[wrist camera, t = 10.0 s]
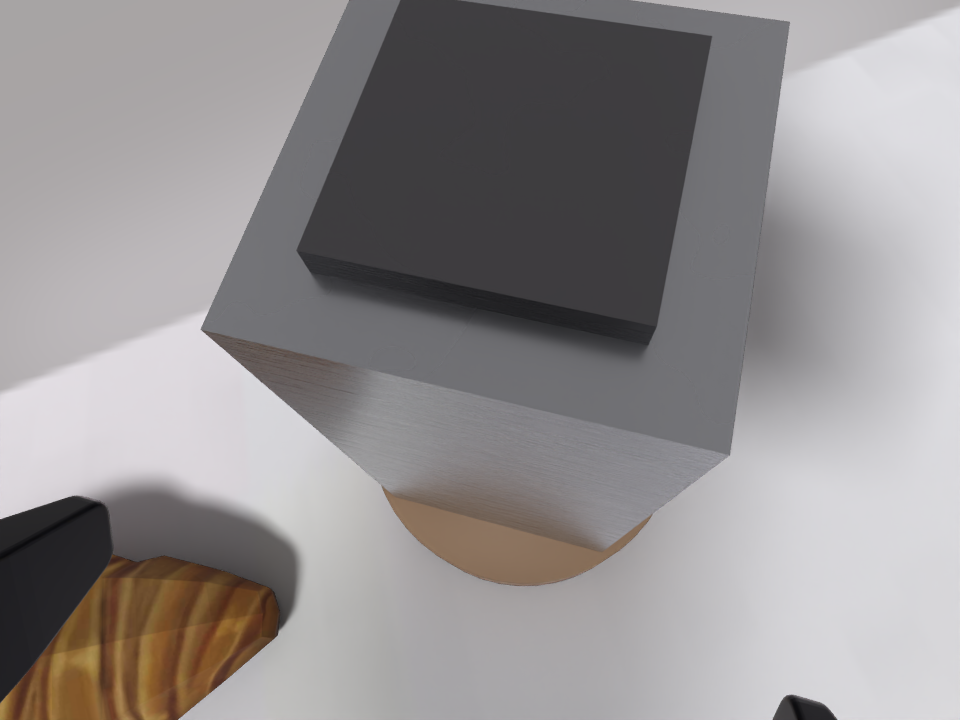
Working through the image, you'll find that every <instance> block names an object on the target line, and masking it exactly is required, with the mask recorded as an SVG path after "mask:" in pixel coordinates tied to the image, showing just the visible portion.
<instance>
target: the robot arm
mask: <svg viewBox="0 0 960 720" xmlns="http://www.w3.org/2000/svg"><path fill="white" fill-rule="evenodd" d="M112 554H113V541H112V533H111V526H110V518H109V511H108V508H107V506H106V505H105V504H104V503H103V502H101V501H97V500H94V499H90V498H87V497H83V496H71V497H68V498H65V499H62V500H59V501H55V502H52V503H49V504H46V505H43V506H40V507H37V508H34V509H31V510H28V511H25V512H21V513H18V514H15V515H12V516H9V517H6V518H3V519H0V703H1V702H2V701H3V700H4V699H5V697H6V696H7V695H8V694H9V693H10V692H11V691H12V690H13V688H14V687H15V686H16V685H17V684H18V683H19V682H20V680H21V679H22V678H23V677H24V676H25V675H26V673H27V672H28V671H29V670H30V669H31V667H32V666H33V665H34V664H35V662H36V661H37V660H38V659H39V657H40V656H41V655H42V653H43V652H44V651H45V650H46V648H47V647H48V646H49V644H50V643H51V642H52V640H53V639H54V638H55V636H56V635H57V634H58V632H59V631H60V630H61V628H62V627H63V625H64V624H65V623H66V621H67V620H68V619H69V617H70V616H71V615H72V613H73V612H74V611H75V609H76V608H77V607H78V605H79V604H80V603H81V601H82V600H83V599H84V597H85V596H86V594H87V593H88V592H89V590H90V589H91V588H92V586H93V585H94V584H95V582H96V581H97V580H98V578H99V577H100V576H101V574H102V573H103V572H104V570H105V569H106V567H107V566H108V564H109V562H110V560H111V557H112ZM773 720H837V718H836V717H835V716H834V714H833V713H832V712H831V711H830V710H829V708H827V707H826V706H825V705H824V704H822V703H820V702H817V701H814V700H810V699H807V698H803V697H799V696H796V695H787V696H785V697H784V698H783V700H782V701H781V703H780V705H779V707H778V709H777V711H776V713H775V715H774V717H773Z"/></svg>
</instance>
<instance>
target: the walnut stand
mask: <svg viewBox="0 0 960 720" xmlns="http://www.w3.org/2000/svg"><path fill="white" fill-rule="evenodd" d="M381 486H382V485H381ZM382 488H383V491H384V493H385V495H386V497H387V499H388V501H389V503H390V505H391V506H392V508H393V510H394V512H395V513H396V515H397V516H398V517H399V519H400V520H401V521H402V523H403V524H404V525H405V527H406V528H407V529H408V530H409V531H410V532H411V533H412V534H413V535H414V536H415V537H416V538H417V539H418V540H419V541H420V543H422V544H423V545H424V546H426V547H427V548H428V549H429V550H431V551H432V552H433V553H434V554H436V555H437V556H439V557H440V558H442V559H444V560H445V561H447V562H448V563H450V564H452V565H454V566H455V567H457V568H459V569H460V570H462V571H464V572H466V573H468V574H471V575H473V576H476V577H478V578H481V579H483V580H487V581H491V582H495V583H499V584H506V585H514V586H538V585H544V584H550V583H556V582H559V581H563V580H566V579H569V578H572V577H575V576H577V575H579V574H581V573H583V572H586V571H588V570H590V569H592V568H593V567H595V566H596V565H598V564H600V563H601V562H603V561H604V560H606V559H607V558H609V557H610V556H612V555H613V554H615V553H616V552H618V551H619V550H620V549H621V548H623V547H624V546H625V545H626V544H627V543H628V542H629V541H631V540H632V539H633V538H634V537H635V536H636V535H637V534H638V532H639V531H640V530H641V529H642V528H643V527H644V525H645V524H646V523H647V522H648V521H649V519H650V517H651V516H652V515H650V516H649V517H648V518H646V519H645V520H644V521H642V522H641V523H640V524H638V525H637V526H636V527H634V528H633V529H632V530H630V531H629V532H628V533H627V534H625V535H624V536H623V537H621V538H620V539H619V540H617V541H616V542H615V543H613V544H612V545H611V546H609V547H608V548H607V549H605V550H604V551H603V552H599V551H595V550H591V549H587V548H584V547H580V546H576V545H572V544H569V543H565V542H561V541H558V540H554V539H550V538H546V537H543V536H539V535H535V534H531V533H528V532H524V531H520V530H516V529H513V528H509V527H505V526H502V525H498V524H494V523H490V522H487V521H483V520H479V519H475V518H472V517H468V516H464V515H460V514H457V513H453V512H449V511H446V510H442V509H438V508H434V507H431V506H427V505H423V504H419V503H416V502H412V501H408V500H404V499H401V498H397V497H395V496H393V495H392V494H391V493H390V492H389V491H388V490H386V489H385V488H384V487H383V486H382Z"/></svg>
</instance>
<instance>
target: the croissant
mask: <svg viewBox="0 0 960 720" xmlns="http://www.w3.org/2000/svg"><path fill="white" fill-rule="evenodd" d="M279 620H280V610H279V607H278V604H277V600H276V597H275V594H274V592H273V591H272V590H271V589H270V588H268V587H266V586H263V585H260V584H258V583H255V582H252V581H249V580H247V579H244V578H241V577H239V576H236V575H233V574H231V573H228V572H225V571H222V570H218V569H214V568H210V567H206V566H202V565H199V564H195V563H191V562H187V561H183V560H179V559H176V558H172V557H168V556H160V557H156V558H152V559H148V560H144V561H140V562H134V561H131V560H128V559H125V558H122V557H119V556H115V555H112V557H111V560H110V562H109V564H108V566H107V567H106V569H105V570H104V572H103V573H102V574H101V576H100V577H99V578H98V580H97V581H96V582H95V584H94V585H93V586H92V588H91V589H90V590H89V592H88V593H87V594H86V596H85V597H84V599H83V600H82V601H81V603H80V604H79V605H78V607H77V608H76V609H75V611H74V612H73V613H72V615H71V616H70V617H69V619H68V620H67V621H66V623H65V624H64V625H63V627H62V628H61V630H60V631H59V632H58V634H57V635H56V636H55V638H54V639H53V640H52V642H51V643H50V644H49V646H48V647H47V648H46V650H45V651H44V652H43V653H42V655H41V656H40V657H39V659H38V660H37V661H36V662H35V664H34V665H33V666H32V667H31V669H30V670H29V671H28V672H27V673H26V675H25V676H24V677H23V678H22V679H21V680H20V682H19V683H18V684H17V685H16V686H15V687H14V688H13V690H12V691H11V692H10V693H9V694H8V695H7V696H6V697H5V699H4V700H3V701H2V702H1V703H0V720H178V719H179V718H180V717H182V716H183V715H184V714H185V713H186V712H188V711H189V710H190V709H191V708H192V707H194V706H195V705H196V704H197V703H198V702H200V701H201V700H202V699H203V698H205V697H206V696H207V695H208V694H209V693H211V692H212V691H213V690H214V689H215V688H217V687H218V686H219V685H220V684H222V683H223V682H224V681H225V680H226V679H228V678H229V677H230V676H231V675H232V674H234V673H235V672H236V671H237V670H238V669H239V668H240V667H242V666H243V665H244V664H245V663H246V662H247V661H249V660H250V659H251V658H252V657H253V656H254V655H256V654H257V653H258V652H259V651H260V650H261V649H263V648H264V647H265V646H266V645H267V644H268V643H270V642H271V641H272V640H273V639H274V638H275V637H276V636H278V629H279Z"/></svg>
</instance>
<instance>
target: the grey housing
mask: <svg viewBox="0 0 960 720" xmlns="http://www.w3.org/2000/svg"><path fill="white" fill-rule="evenodd" d="M789 24H790V22H787V21H779V20H771V19H764V18H757V17H750V16H742V15H735V14H728V13H720V12H712V11H705V10H698V9H690V8H683V7H676V6H668V5H661V4H654V3H646V2H638V1H631V0H349V2H348V4H347V7H346V9H345V11H344V13H343V15H342V18H341V20H340V22H339V24H338V26H337V29H336V31H335V33H334V35H333V38H332V40H331V42H330V44H329V46H328V49H327V51H326V53H325V55H324V57H323V60H322V62H321V64H320V66H319V69H318V71H317V73H316V75H315V78H314V80H313V82H312V84H311V86H310V88H309V91H308V93H307V95H306V97H305V99H304V102H303V104H302V106H301V108H300V111H299V113H298V115H297V117H296V119H295V122H294V124H293V126H292V128H291V130H290V133H289V135H288V137H287V139H286V142H285V144H284V146H283V148H282V151H281V153H280V155H279V157H278V159H277V161H276V164H275V166H274V168H273V170H272V172H271V175H270V177H269V179H268V181H267V184H266V186H265V188H264V190H263V193H262V195H261V197H260V199H259V201H258V203H257V206H256V208H255V210H254V212H253V215H252V217H251V219H250V221H249V223H248V226H247V228H246V230H245V232H244V235H243V237H242V239H241V241H240V243H239V246H238V248H237V250H236V252H235V254H234V257H233V259H232V261H231V263H230V266H229V268H228V270H227V272H226V274H225V277H224V279H223V281H222V283H221V286H220V288H219V290H218V292H217V294H216V296H215V299H214V301H213V303H212V305H211V307H210V310H209V312H208V314H207V316H206V319H205V321H204V323H203V325H202V327H201V330H202V331H203V332H204V333H205V334H206V335H208V336H209V337H210V338H211V339H212V340H213V341H215V342H216V343H217V344H218V345H219V346H220V347H222V348H223V349H224V350H225V351H226V352H227V353H228V354H230V355H231V356H232V357H233V358H234V359H235V360H237V361H238V362H239V363H240V364H241V365H242V366H244V367H245V368H246V369H247V370H248V371H249V372H251V373H252V374H253V375H254V376H255V377H256V378H258V379H259V380H260V381H261V382H262V383H263V384H264V385H266V386H267V387H268V388H269V389H270V390H271V391H273V392H274V393H275V394H276V395H277V396H278V397H280V398H281V399H282V400H283V401H284V402H285V403H287V404H288V405H289V406H290V407H291V408H292V409H294V410H295V411H296V412H297V413H298V414H299V415H301V416H302V417H303V418H304V419H305V420H306V421H307V422H309V423H310V424H311V425H312V426H313V427H314V428H316V429H317V430H318V431H319V432H320V433H321V434H323V435H324V436H325V437H326V438H327V439H328V440H330V441H331V442H332V443H333V444H334V445H335V446H337V447H338V448H339V449H340V450H341V451H342V452H343V453H345V454H346V455H347V456H348V457H349V458H350V459H352V460H353V461H354V462H355V463H356V464H357V465H359V466H360V467H361V468H362V469H363V470H364V471H366V472H367V473H368V474H369V475H370V476H371V477H373V478H374V479H375V480H376V481H377V482H378V483H380V484H381V485H382V486H383V487H384V488H385V489H386V490H388V491H389V492H390V493H391V494H392V495H393V496H395V497H397V498H401V499H404V500H408V501H412V502H416V503H419V504H423V505H427V506H431V507H434V508H438V509H442V510H446V511H449V512H453V513H457V514H460V515H464V516H468V517H472V518H475V519H479V520H483V521H487V522H490V523H494V524H498V525H502V526H505V527H509V528H513V529H516V530H520V531H524V532H528V533H531V534H535V535H539V536H543V537H546V538H550V539H554V540H558V541H561V542H565V543H569V544H572V545H576V546H580V547H584V548H587V549H591V550H595V551H599V552H603V551H604V550H605V549H607V548H608V547H609V546H611V545H612V544H613V543H615V542H616V541H617V540H619V539H620V538H621V537H623V536H624V535H625V534H627V533H628V532H629V531H630V530H632V529H633V528H634V527H636V526H637V525H638V524H640V523H641V522H642V521H644V520H645V519H646V518H648V517H649V516H650V515H652V514H653V513H654V512H656V511H657V510H658V509H659V508H661V507H662V506H663V505H665V504H666V503H667V502H669V501H670V500H671V499H673V498H674V497H675V496H677V495H678V494H679V493H681V492H682V491H683V490H685V489H686V488H687V487H688V486H690V485H691V484H692V483H694V482H695V481H696V480H698V479H699V478H700V477H702V476H703V475H704V474H706V473H707V472H708V471H710V470H711V469H712V468H713V467H715V466H716V465H717V464H719V463H720V462H721V461H723V460H724V459H725V458H727V457H728V456H729V455H730V450H731V443H732V436H733V428H734V421H735V414H736V407H737V400H738V392H739V385H740V378H741V371H742V364H743V356H744V349H745V342H746V335H747V327H748V320H749V313H750V306H751V299H752V291H753V284H754V277H755V270H756V263H757V255H758V248H759V241H760V234H761V226H762V219H763V212H764V205H765V198H766V190H767V183H768V176H769V169H770V162H771V154H772V147H773V140H774V133H775V126H776V118H777V111H778V104H779V97H780V89H781V82H782V75H783V68H784V60H785V53H786V46H787V39H788V31H789Z"/></svg>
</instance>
